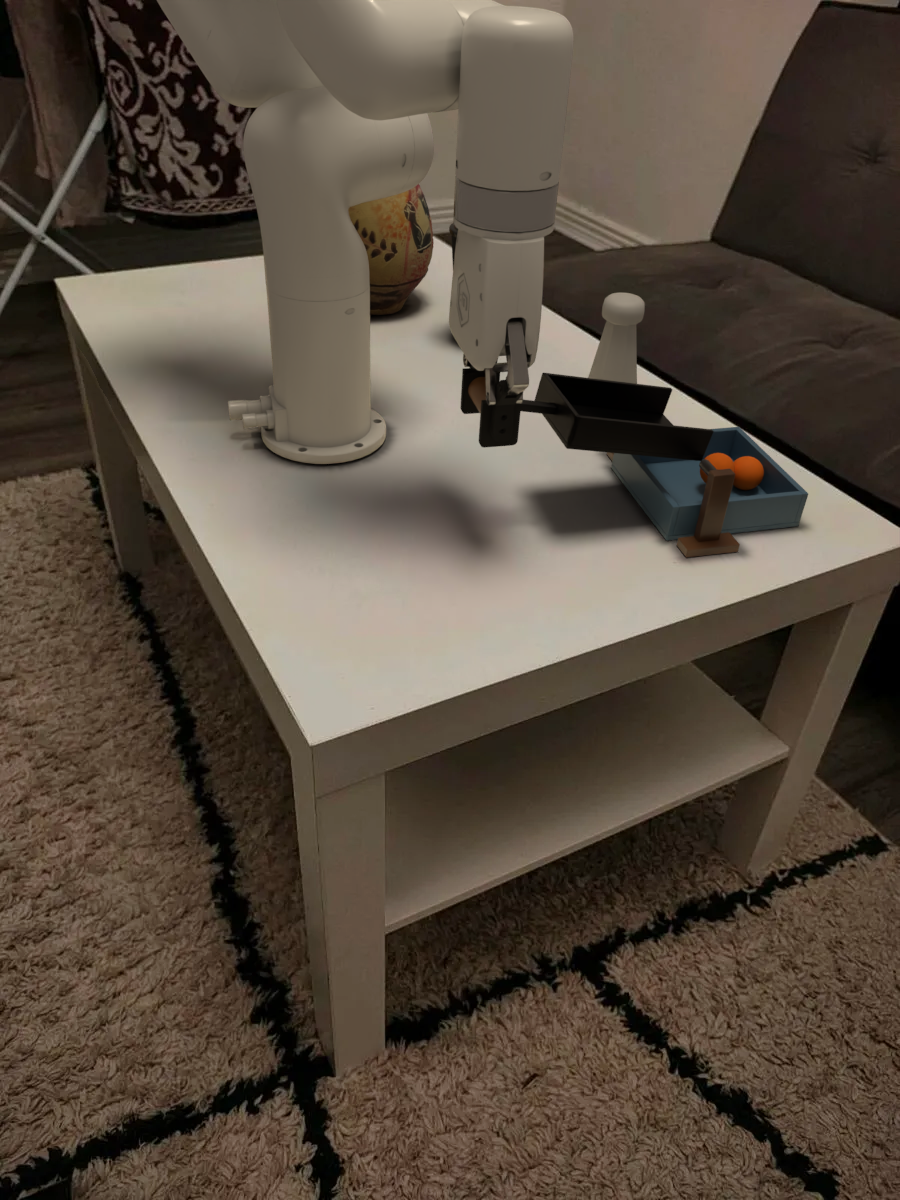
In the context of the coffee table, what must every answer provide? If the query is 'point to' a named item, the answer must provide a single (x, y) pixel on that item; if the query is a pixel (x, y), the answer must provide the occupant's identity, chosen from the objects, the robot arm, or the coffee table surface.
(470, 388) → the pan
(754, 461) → the ball
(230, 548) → the coffee table surface
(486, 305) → the robot arm
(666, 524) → the tray
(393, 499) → the coffee table surface
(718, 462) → the ball
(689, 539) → the stand
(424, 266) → the ceramic jug
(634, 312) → the salt shaker
